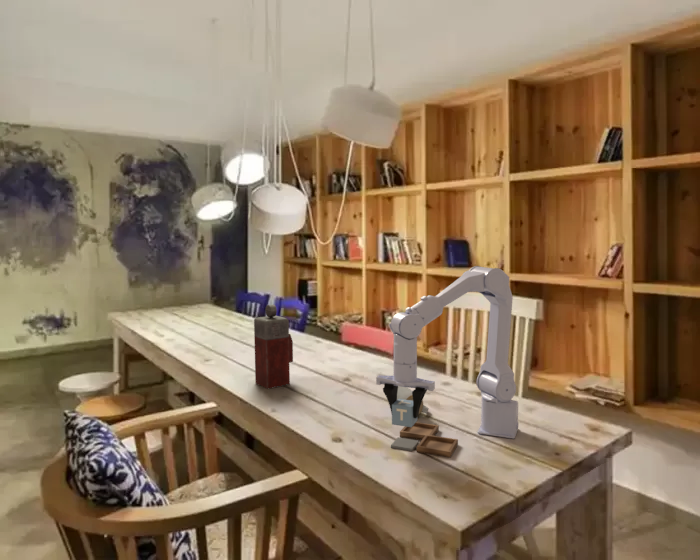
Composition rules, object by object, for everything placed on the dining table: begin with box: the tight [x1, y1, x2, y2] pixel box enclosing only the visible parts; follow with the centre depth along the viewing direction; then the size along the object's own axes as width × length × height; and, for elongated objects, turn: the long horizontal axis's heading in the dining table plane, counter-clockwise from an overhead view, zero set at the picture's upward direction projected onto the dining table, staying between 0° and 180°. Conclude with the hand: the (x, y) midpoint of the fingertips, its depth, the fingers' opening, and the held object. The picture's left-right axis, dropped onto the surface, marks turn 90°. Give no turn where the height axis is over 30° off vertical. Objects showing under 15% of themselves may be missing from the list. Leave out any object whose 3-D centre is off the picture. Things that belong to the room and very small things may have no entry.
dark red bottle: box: [253, 304, 294, 390], centre depth 187 cm, size 9×11×28 cm
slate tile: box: [390, 436, 420, 452], centre depth 133 cm, size 6×6×1 cm
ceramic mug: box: [397, 386, 429, 416], centre depth 156 cm, size 11×8×8 cm
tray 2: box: [416, 435, 459, 458], centre depth 131 cm, size 8×8×1 cm
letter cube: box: [391, 399, 418, 427], centre depth 133 cm, size 5×5×5 cm
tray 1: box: [399, 421, 440, 441], centre depth 141 cm, size 8×8×1 cm
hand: (404, 415), depth 133 cm, fingers closed on letter cube, 5 cm apart
